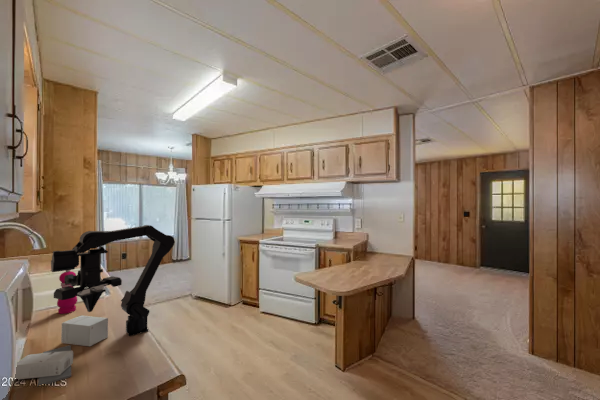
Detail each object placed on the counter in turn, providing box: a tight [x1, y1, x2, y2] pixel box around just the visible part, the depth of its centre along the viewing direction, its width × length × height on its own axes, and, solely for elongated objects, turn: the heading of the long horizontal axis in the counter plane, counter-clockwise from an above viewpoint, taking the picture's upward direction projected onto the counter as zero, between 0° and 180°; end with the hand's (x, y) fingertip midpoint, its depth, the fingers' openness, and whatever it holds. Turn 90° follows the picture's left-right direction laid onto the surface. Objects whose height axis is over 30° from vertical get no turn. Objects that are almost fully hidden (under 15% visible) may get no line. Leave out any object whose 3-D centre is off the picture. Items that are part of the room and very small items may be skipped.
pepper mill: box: [56, 270, 78, 315], centre depth 126 cm, size 7×7×20 cm
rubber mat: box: [37, 344, 72, 387], centre depth 84 cm, size 7×22×1 cm, turn 41°
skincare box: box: [15, 350, 74, 380], centre depth 80 cm, size 6×4×12 cm
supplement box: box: [60, 315, 109, 347], centre depth 99 cm, size 7×7×13 cm
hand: (89, 311), depth 95 cm, fingers closed
